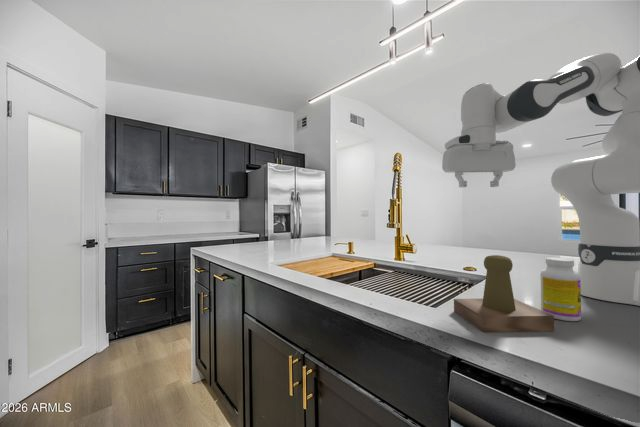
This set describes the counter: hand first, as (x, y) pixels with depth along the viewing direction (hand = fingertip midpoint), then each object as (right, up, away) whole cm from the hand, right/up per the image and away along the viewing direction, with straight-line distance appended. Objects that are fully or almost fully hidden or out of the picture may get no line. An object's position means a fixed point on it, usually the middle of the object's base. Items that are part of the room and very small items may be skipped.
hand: (478, 187), depth 78 cm
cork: (-9, -28, -21) cm, 36 cm away
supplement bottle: (+6, -31, -19) cm, 37 cm away
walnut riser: (-8, -31, -21) cm, 39 cm away
